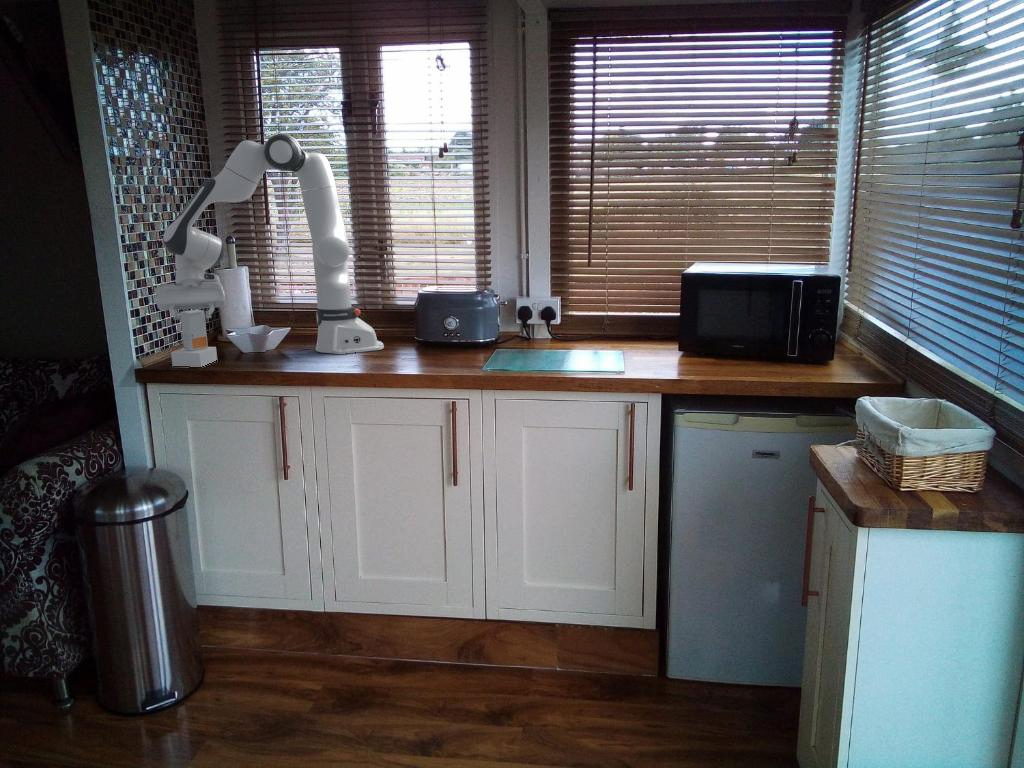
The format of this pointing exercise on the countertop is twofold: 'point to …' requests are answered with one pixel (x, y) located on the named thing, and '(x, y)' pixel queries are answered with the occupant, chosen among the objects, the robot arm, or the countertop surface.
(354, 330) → the robot arm
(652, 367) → the countertop surface
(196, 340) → the skincare box
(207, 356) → the grey block
